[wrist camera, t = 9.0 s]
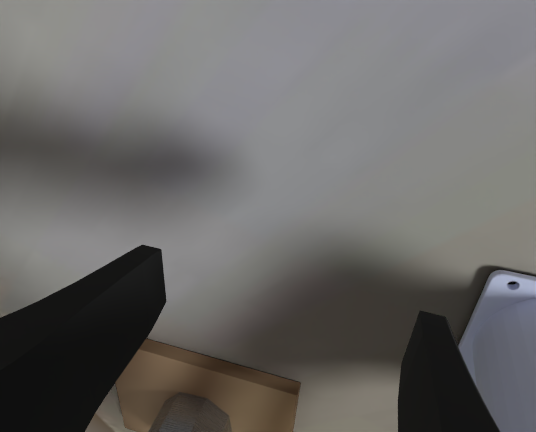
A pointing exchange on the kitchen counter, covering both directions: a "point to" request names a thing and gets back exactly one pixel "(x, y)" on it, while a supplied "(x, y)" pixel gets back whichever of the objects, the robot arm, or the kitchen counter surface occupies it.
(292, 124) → the kitchen counter surface
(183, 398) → the hub
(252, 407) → the thin wooden board
